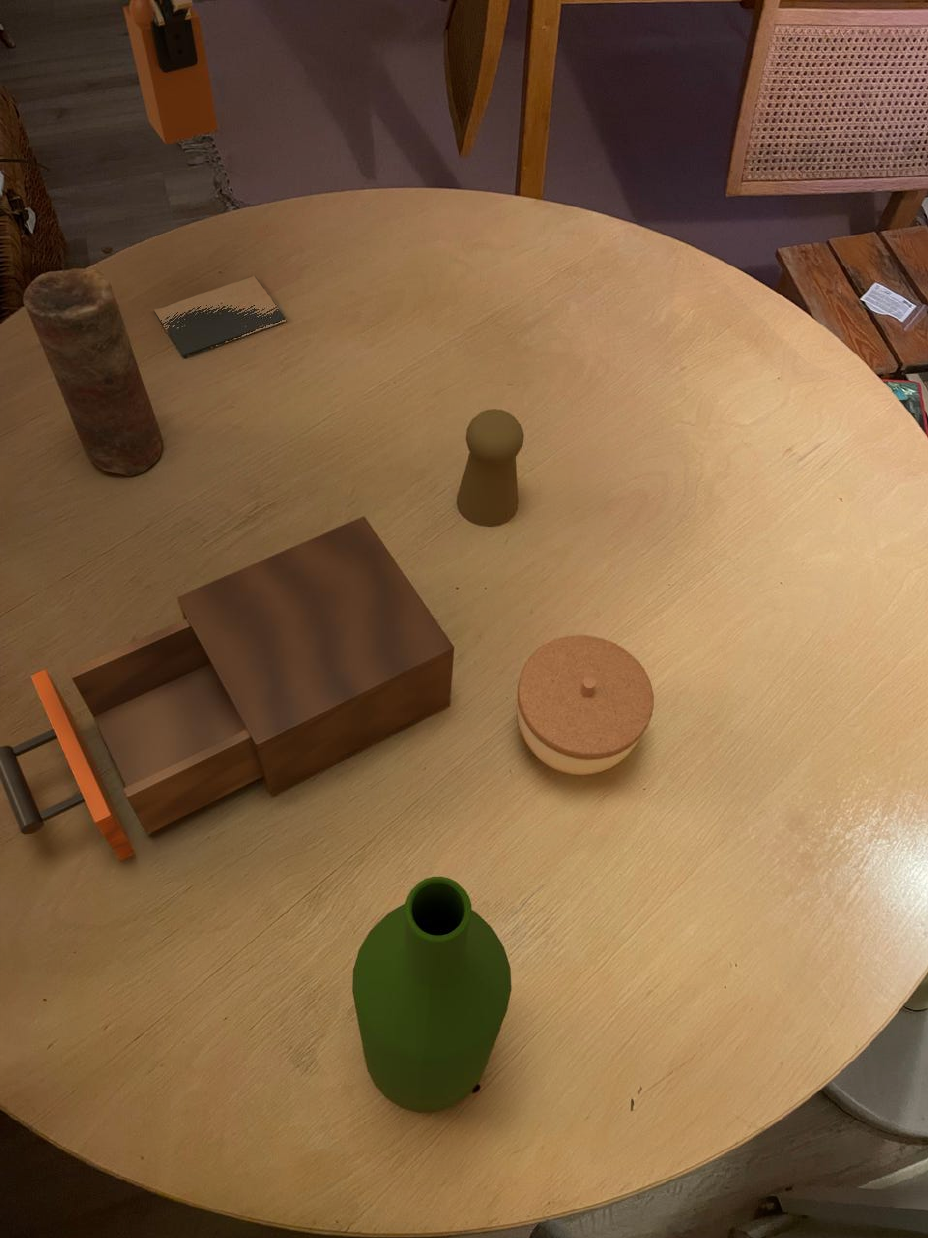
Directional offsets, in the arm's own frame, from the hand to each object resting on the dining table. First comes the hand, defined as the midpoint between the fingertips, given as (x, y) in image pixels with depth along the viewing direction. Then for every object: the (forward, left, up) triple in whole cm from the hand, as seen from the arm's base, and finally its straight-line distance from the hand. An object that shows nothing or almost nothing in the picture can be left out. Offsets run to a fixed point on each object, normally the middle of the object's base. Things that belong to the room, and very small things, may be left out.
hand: (167, 50), depth 87 cm
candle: (-16, -12, -30) cm, 36 cm away
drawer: (-26, -45, -29) cm, 59 cm away
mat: (0, +1, -30) cm, 30 cm away
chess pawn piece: (+12, -35, -30) cm, 48 cm away
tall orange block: (0, 0, -7) cm, 7 cm away
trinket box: (+5, -60, -30) cm, 67 cm away
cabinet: (-11, -45, -30) cm, 55 cm away
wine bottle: (-18, -75, -30) cm, 83 cm away
